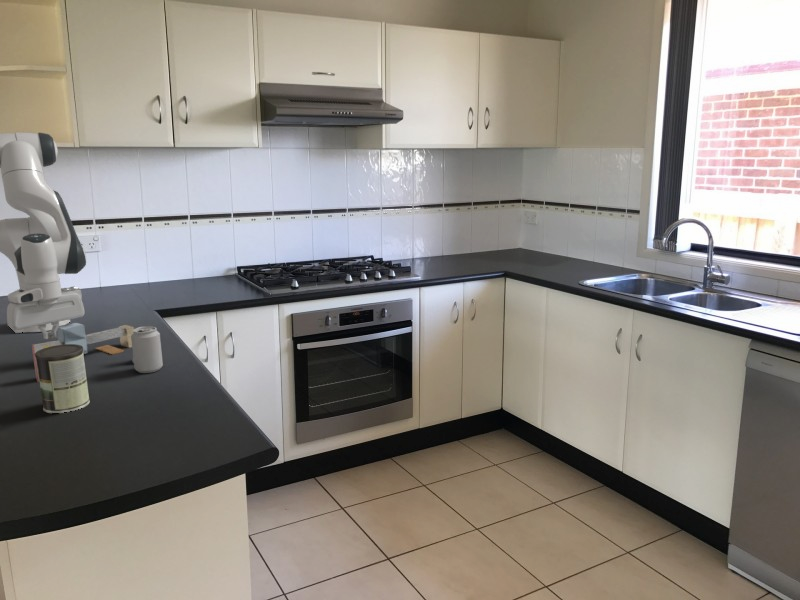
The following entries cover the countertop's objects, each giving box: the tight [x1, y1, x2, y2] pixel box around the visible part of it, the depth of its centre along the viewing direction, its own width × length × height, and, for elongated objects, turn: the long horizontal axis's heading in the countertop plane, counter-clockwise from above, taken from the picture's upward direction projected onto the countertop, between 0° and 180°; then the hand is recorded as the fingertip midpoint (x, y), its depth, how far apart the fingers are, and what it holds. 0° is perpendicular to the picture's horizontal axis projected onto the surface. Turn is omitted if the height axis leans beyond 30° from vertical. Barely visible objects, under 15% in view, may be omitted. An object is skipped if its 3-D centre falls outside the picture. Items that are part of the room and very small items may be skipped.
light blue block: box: [56, 322, 88, 355], centre depth 197 cm, size 5×6×9 cm
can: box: [131, 326, 164, 374], centre depth 185 cm, size 8×8×12 cm
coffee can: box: [35, 344, 91, 414], centre depth 159 cm, size 10×10×14 cm
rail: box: [45, 324, 135, 355], centre depth 202 cm, size 10×25×6 cm, turn 141°
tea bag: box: [31, 340, 60, 383], centre depth 180 cm, size 4×7×10 cm, turn 122°
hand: (50, 338), depth 192 cm, fingers closed
